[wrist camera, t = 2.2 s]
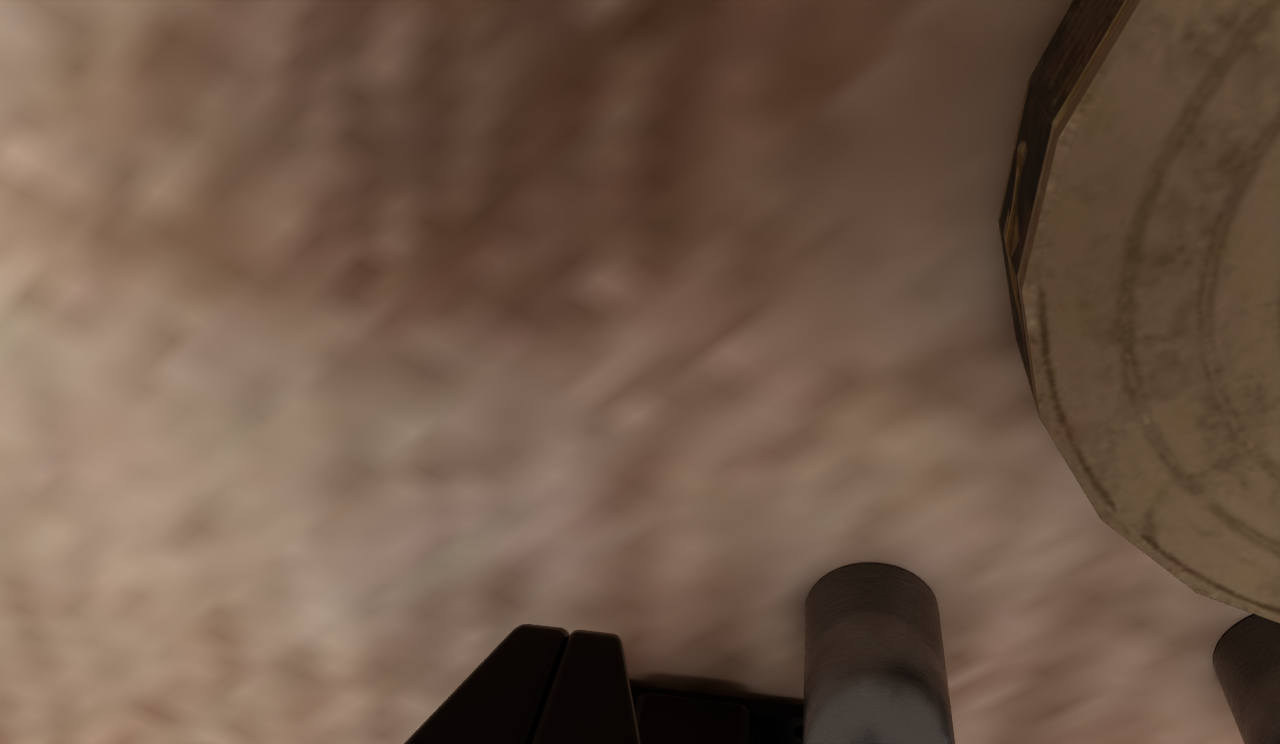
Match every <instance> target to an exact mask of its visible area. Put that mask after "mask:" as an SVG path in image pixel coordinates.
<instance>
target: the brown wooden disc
mask: <svg viewBox="0 0 1280 744" xmlns="http://www.w3.org/2000/svg"><path fill="white" fill-rule="evenodd" d="M999 227H1000V234H1001V241H1002V247H1003V254H1004V261H1005V268H1006V274H1007V281H1008V288H1009V295H1010V301H1011V308H1012V315H1013V322H1014V328H1015V335H1016V340H1017V343H1018V347H1019V350H1020V353H1021V357H1022V360H1023V363H1024V367H1025V370H1026V374H1027V377H1028V380H1029V384H1030V387H1031V390H1032V394H1033V397H1034V400H1035V404H1036V407H1037V410H1038V414H1039V417H1040V420H1041V422H1042V423H1043V425H1044V426H1045V428H1046V430H1047V431H1048V433H1049V435H1050V436H1051V438H1052V440H1053V441H1054V443H1055V445H1056V446H1057V448H1058V450H1059V451H1060V453H1061V455H1062V456H1063V458H1064V459H1065V461H1066V463H1067V464H1068V466H1069V468H1070V469H1071V471H1072V473H1073V474H1074V476H1075V478H1076V479H1077V481H1078V483H1079V484H1080V486H1081V487H1082V489H1083V491H1084V492H1085V494H1086V496H1087V497H1088V499H1089V501H1090V502H1091V504H1092V506H1093V507H1094V509H1095V511H1096V512H1097V514H1098V516H1099V517H1100V519H1101V520H1102V521H1103V522H1105V523H1106V524H1107V525H1109V526H1110V527H1111V528H1112V529H1114V530H1115V531H1116V532H1118V533H1119V534H1120V535H1122V536H1123V537H1124V538H1126V539H1127V540H1128V541H1129V542H1131V543H1132V544H1133V545H1135V546H1136V547H1137V548H1139V549H1140V550H1141V551H1143V552H1144V553H1145V554H1146V555H1148V556H1149V557H1150V558H1152V559H1153V560H1154V561H1156V562H1157V563H1158V564H1160V565H1161V566H1162V567H1163V568H1165V569H1166V570H1167V571H1169V572H1170V573H1171V574H1173V575H1174V576H1175V577H1177V578H1178V579H1179V580H1180V581H1182V582H1183V583H1184V584H1186V585H1187V586H1188V587H1190V588H1191V589H1192V590H1194V591H1195V592H1196V593H1198V594H1201V595H1204V596H1207V597H1209V598H1212V599H1215V600H1218V601H1220V602H1223V603H1226V604H1229V605H1231V606H1234V607H1237V608H1239V609H1242V610H1245V611H1248V612H1250V613H1253V614H1256V615H1259V616H1261V617H1264V618H1267V619H1270V620H1272V621H1275V622H1278V623H1280V0H1073V2H1072V4H1071V6H1070V7H1069V9H1068V11H1067V13H1066V15H1065V16H1064V18H1063V20H1062V22H1061V24H1060V25H1059V27H1058V29H1057V31H1056V32H1055V34H1054V36H1053V38H1052V40H1051V41H1050V43H1049V45H1048V47H1047V49H1046V50H1045V52H1044V54H1043V56H1042V57H1041V59H1040V61H1039V63H1038V65H1037V66H1036V68H1035V70H1034V72H1033V74H1032V75H1031V77H1030V79H1029V81H1028V84H1027V88H1026V93H1025V98H1024V103H1023V107H1022V112H1021V117H1020V121H1019V126H1018V131H1017V136H1016V140H1015V145H1014V150H1013V154H1012V159H1011V164H1010V169H1009V173H1008V178H1007V183H1006V187H1005V192H1004V197H1003V202H1002V206H1001V211H1000V216H999Z"/></svg>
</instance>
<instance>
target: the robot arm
mask: <svg viewBox="0 0 1280 744" xmlns="http://www.w3.org/2000/svg"><path fill="white" fill-rule="evenodd" d="M802 741H803V706H802V705H794V704H785V703H777V702H768V701H760V700H752V699H743V698H735V697H726V696H718V695H709V694H701V693H692V692H684V691H675V690H667V689H659V688H650V687H642V686H633V685H630V683H629V677H628V672H627V666H626V661H625V656H624V650H623V645H622V641H621V639H620V638H619V636H617V635H616V634H612V633H603V632H594V631H585V630H575V631H573V632H572V633H571V634H570V635H569V632H568V631H566V630H565V629H563V628H558V627H549V626H541V625H532V624H523V625H521V626H518V627H517V628H515V629H514V630H513V631H512V632H511V633H510V634H509V635H508V636H507V637H506V638H505V639H504V640H503V641H502V642H501V643H500V644H499V645H498V646H497V647H496V649H495V650H494V651H493V652H492V653H491V654H490V655H489V656H488V657H487V658H486V659H485V660H484V661H483V662H482V663H481V664H480V665H479V666H478V667H477V668H476V669H475V670H474V671H473V672H472V674H471V675H470V676H469V677H468V678H467V679H466V680H465V681H464V682H463V683H462V684H461V685H460V686H459V687H458V688H457V689H456V690H455V691H454V692H453V693H452V694H451V695H450V696H449V697H448V699H447V700H446V701H445V702H444V703H443V704H442V705H441V706H440V707H439V708H438V709H437V710H436V711H435V712H434V713H433V714H432V715H431V716H430V717H429V718H428V719H427V720H426V721H425V722H424V724H423V725H422V726H421V727H420V728H419V729H418V730H417V731H416V732H415V733H414V734H413V735H412V736H411V737H410V738H409V739H408V740H407V741H406V742H405V743H404V744H802Z"/></svg>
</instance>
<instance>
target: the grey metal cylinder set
mask: <svg viewBox="0 0 1280 744" xmlns="http://www.w3.org/2000/svg"><path fill="white" fill-rule="evenodd" d="M1213 662H1214V668H1215V672H1216V674H1217V677H1218V679H1219V682H1220V684H1221V687H1222V689H1223V692H1224V694H1225V697H1226V699H1227V701H1228V704H1229V706H1230V709H1231V711H1232V714H1233V716H1234V719H1235V721H1236V724H1237V726H1238V729H1239V731H1240V734H1241V736H1242V739H1243V741H1244V744H1280V623H1278V622H1275V621H1272V620H1270V619H1267V618H1264V617H1261V616H1259V615H1254V616H1251V617H1249V618H1247V619H1245V620H1243V621H1242V622H1240V623H1239V624H1237V625H1235V626H1234V627H1233V628H1232V629H1230V630H1229V631H1228V632H1227V633H1226V634H1225V635H1224V636H1223V638H1222V639H1221V640H1220V642H1219V643H1218V645H1217V647H1216V650H1215V653H1214V659H1213ZM802 744H955V739H954V731H953V723H952V714H951V706H950V698H949V690H948V682H947V674H946V666H945V658H944V649H943V641H942V633H941V625H940V617H939V609H938V604H937V600H936V598H935V596H934V594H933V592H932V591H931V589H930V588H929V587H928V586H927V585H926V584H925V583H924V582H923V581H922V580H921V579H919V578H918V577H916V576H915V575H913V574H912V573H909V572H907V571H905V570H903V569H900V568H897V567H894V566H890V565H884V564H874V563H866V564H856V565H850V566H846V567H843V568H840V569H837V570H835V571H833V572H831V573H829V574H827V575H826V576H824V577H823V578H822V579H821V580H819V581H818V582H817V583H816V585H815V586H814V587H813V588H812V590H811V591H810V593H809V596H808V598H807V602H806V623H805V662H804V702H803V741H802Z"/></svg>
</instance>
